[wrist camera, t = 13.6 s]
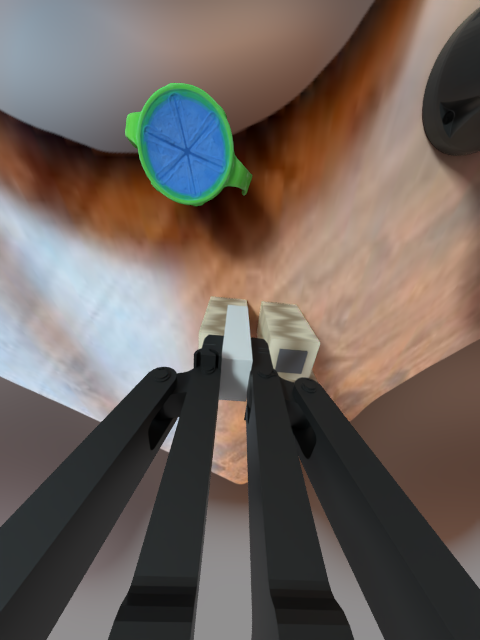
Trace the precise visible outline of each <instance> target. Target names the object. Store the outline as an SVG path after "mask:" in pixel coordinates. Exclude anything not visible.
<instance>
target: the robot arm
mask: <svg viewBox="0 0 480 640" xmlns="http://www.w3.org/2000/svg"><path fill="white" fill-rule="evenodd" d="M423 123H424V128H425V131H426V134H427V136H428V138H429V140H430V142H431V143H432V144H433V145H434V146H435V147H436V148H437V149H438V150H439V151H441V152H443V153H446V154H449V155H467V154H471V153H474V152H478V151H480V7H479V8H478V9H477V10H476V11H475V12H473V13H472V14H471V15H470V16H469V17H468V18H467V19H466V20H465V21H464V22H463V23H462V24H461V25H460V26H459V27H458V28H457V29H456V31H455V32H454V33H453V34H452V36H451V37H450V38H449V40H448V41H447V43H446V44H445V46H444V47H443V49H442V50H441V52H440V54H439V56H438V58H437V60H436V62H435V64H434V66H433V68H432V71H431V73H430V76H429V79H428V82H427V86H426V89H425V94H424V100H423ZM246 398H247V406H246V412H245V418H244V420H246V432H247V464H248V496H249V528H250V560H251V592H252V639H251V640H354V638H353V635H352V631H351V628H350V625H349V623H348V621H347V618H346V616H345V614H344V611H343V610H342V608H341V607H340V606H339V604H338V603H337V601H336V600H335V599H334V596H333V594H332V592H331V588H330V585H329V582H328V577H327V573H326V569H325V565H324V561H323V557H322V553H321V549H320V544H319V540H318V536H317V532H316V528H315V524H314V519H313V516H312V511H311V507H310V503H309V499H308V495H307V491H306V486H305V482H304V478H303V474H302V470H301V466H300V461H299V458H300V460H301V462H302V464H303V467H304V469H305V471H306V473H307V475H308V477H309V479H310V482H311V484H312V486H313V488H314V490H315V492H316V494H317V496H318V499H319V501H320V503H321V505H322V507H323V509H324V511H325V513H326V516H327V518H328V520H329V522H330V524H331V526H332V528H333V531H334V533H335V535H336V537H337V539H338V541H339V543H340V545H341V548H342V550H343V552H344V554H345V556H346V558H347V560H348V562H349V565H350V567H351V569H352V571H353V573H354V575H355V577H356V579H357V581H358V584H359V586H360V588H361V590H362V592H363V594H364V596H365V599H366V601H367V603H368V605H369V607H370V609H371V611H372V614H373V616H374V618H375V620H376V622H377V624H378V626H379V629H380V630H381V633H382V635H383V637H384V639H385V640H480V589H479V588H478V586H477V585H476V584H475V583H474V581H473V580H472V579H471V577H470V576H469V575H468V574H467V572H466V571H465V570H464V568H463V567H462V566H461V565H460V563H459V562H458V561H457V559H456V558H455V557H454V556H453V554H452V553H451V552H450V551H449V549H448V548H447V547H446V545H445V544H444V543H443V542H442V541H441V539H440V538H439V536H438V535H437V534H436V533H435V531H434V530H433V529H432V527H431V526H430V525H429V524H428V522H427V521H426V520H425V518H424V517H423V516H422V515H421V513H420V512H419V511H418V509H417V508H416V507H415V506H414V504H413V503H412V502H411V500H410V499H409V498H408V497H407V495H406V494H405V493H404V491H403V490H402V489H401V488H400V486H399V485H398V484H397V482H396V481H395V480H394V479H393V477H392V476H391V475H390V474H389V472H388V471H387V470H386V468H385V467H384V466H383V465H382V463H381V462H380V461H379V459H378V458H377V457H376V456H375V454H374V453H373V452H372V450H371V449H370V448H369V447H368V445H367V444H366V443H365V442H364V440H363V439H362V438H361V436H360V435H359V434H358V432H357V431H356V430H355V429H354V427H353V426H352V425H351V424H350V422H349V421H348V420H347V418H346V417H345V416H344V415H343V413H342V412H341V411H340V409H339V408H338V407H337V406H336V404H335V403H334V402H333V400H332V399H331V398H330V397H329V395H328V394H327V393H326V391H325V390H324V389H323V388H322V386H321V385H320V384H319V383H318V382H316V381H315V380H313V379H310V378H306V377H301V378H298V379H297V380H296V381H295V383H294V382H291V381H288V380H285V379H283V378H281V377H279V375H278V373H277V371H276V370H275V369H274V368H273V364H272V360H271V355H270V351H269V346H268V343H267V342H266V341H265V340H264V339H261V338H251V337H250V327H249V316H248V307H247V306H237V305H228V308H227V316H226V324H225V332H224V336H221V335H210V334H209V335H208V336H207V337H205V338H204V342H203V345H202V348H201V349H199V350H197V351H196V352H195V353H194V369H192V370H190V371H188V372H184V373H178V374H176V371H175V370H174V369H172V368H170V367H159V368H156V369H153V370H152V371H150V372H149V373H148V374H147V375H146V376H145V377H144V378H143V379H142V380H141V381H140V382H139V383H138V384H137V385H136V386H135V388H134V389H133V390H132V391H131V392H130V393H129V394H128V395H127V396H126V397H125V398H124V399H123V400H122V401H121V402H120V403H119V404H118V405H117V406H116V407H115V408H114V409H113V410H112V411H111V413H110V414H109V415H108V416H107V417H106V418H105V419H104V420H103V421H102V422H101V423H100V424H99V425H98V426H97V427H96V428H95V429H94V430H93V431H92V432H91V433H90V435H88V436H87V438H86V439H85V440H84V441H83V442H82V443H81V444H80V445H79V446H78V447H77V448H76V449H75V450H74V451H73V452H72V453H71V454H70V455H69V456H68V458H66V459H65V461H64V462H63V463H62V464H61V465H60V466H59V467H58V468H57V469H56V470H55V471H54V472H53V473H52V474H51V475H50V476H49V477H48V478H47V479H46V480H45V481H44V482H43V483H42V484H41V485H40V487H39V488H38V489H37V490H36V491H35V492H34V493H33V494H32V495H31V496H30V497H29V498H28V499H27V500H26V501H25V502H24V503H23V504H22V505H21V506H20V507H19V509H17V510H16V512H15V513H14V514H13V515H12V516H11V517H10V518H9V519H8V520H7V521H6V522H5V523H4V524H3V525H2V526H1V527H0V640H46V639H47V638H48V636H49V634H50V633H51V631H52V629H53V627H54V626H55V624H56V623H57V621H58V619H59V617H60V616H61V614H62V612H63V611H64V609H65V607H66V606H67V604H68V602H69V601H70V598H71V597H72V596H73V594H74V592H75V590H76V589H77V587H78V585H79V584H80V582H81V580H82V579H83V577H84V575H85V574H86V572H87V570H88V568H89V567H90V565H91V564H92V562H93V560H94V558H95V557H96V555H97V553H98V552H99V550H100V548H101V546H102V545H103V543H104V542H105V540H106V538H107V536H108V535H109V533H110V531H111V530H112V528H113V526H114V525H115V523H116V521H117V520H118V518H119V516H120V514H121V513H122V511H123V509H124V508H125V506H126V504H127V503H128V501H129V499H130V498H131V496H132V494H133V493H134V491H135V489H136V487H137V486H138V484H139V482H140V481H141V479H142V478H143V476H144V474H145V472H146V471H147V469H148V467H149V466H150V464H151V462H152V461H153V459H154V457H155V456H156V454H157V452H158V451H159V449H160V447H161V445H162V444H163V442H164V440H165V439H166V437H167V435H168V434H169V432H170V430H171V429H172V427H173V425H174V424H175V422H176V420H177V418H178V417H180V418H179V421H178V424H177V428H176V431H175V435H174V438H173V442H172V445H171V449H170V452H169V456H168V459H167V463H166V466H165V469H164V473H163V477H162V480H161V483H160V487H159V491H158V494H157V497H156V501H155V504H154V508H153V511H152V515H151V518H150V522H149V525H148V529H147V532H146V536H145V539H144V542H143V546H142V549H141V553H140V556H139V560H138V563H137V567H136V570H135V573H134V577H133V580H132V583H131V586H130V589H129V591H128V594H127V595H126V597H125V599H124V601H123V602H122V604H121V606H120V608H119V610H118V613H117V615H116V618H115V620H114V623H113V626H112V629H111V632H110V635H109V638H108V640H193V639H194V629H195V619H196V609H197V599H198V591H199V581H200V571H201V562H202V553H203V543H204V534H205V524H206V515H207V505H208V495H209V487H210V477H211V468H212V458H213V449H214V439H215V430H216V420H217V411H218V400H232V401H246ZM298 456H299V457H298Z"/></svg>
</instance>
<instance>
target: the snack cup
mask: <svg viewBox="0 0 480 640" xmlns="http://www.w3.org/2000/svg"><path fill="white" fill-rule="evenodd" d="M125 135H126V137H127V138H128V140H129V141H130V142H131V143H132V145H133V146H134V147H135V148H137V149H138V153H139V157H140V160H141V164H142V166H143V169H144V171H145V173H146V174H147V176H148V178H149V179H150V181H151V184H152V185H153V186H154V187H155V189H156V190H157V191H159V192H161V193H162V194H164V195H165V196H166V197H168V198H169V199H171V200H173V201H175V202H178V203H181V204H185V205H193V206H201V205H203V204H204V203H205V202H208V201H210V200H212V199H213V198H214V197H216V196H217V195H218V194H219V193H220V192H221V191H222V189H223V188H224V187H226V186H232V187H238V188H240V189H242V194H243V195H246V193H247V191H248V188H249V185H250V182H251V179H252V174H250V173H249V171H248V170H247V169H246V168H245V167H244V166H243V165H242V163H241V162H240V161H239V160H238V159H237V158H236V156H235V154H234V144H233V138H232V133H231V129H230V126H229V123H228V121H227V116H226V114H225V112H224V110H223V109H222V107H221V106H219V105H218V104H217V103H216V102H215V101H214V99H213V98H211V97H210V96H209V95H208V94H207V93H206V92H205V91H203V90H201V89H200V88H197V87H195V86H193V85H189V84H183V83H178V84H177V83H170V84H168V85H167V86H165V87H162V88H160V89H159V90H158V91H156V92H154V94H153V95H152V96H151V97H150V98H149V99H148V101H147V102H146V104H145V106H144V107H143V109H142V111H141V112H134V113H131V114H129V115H128V116H127V120H126V130H125Z"/></svg>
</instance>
